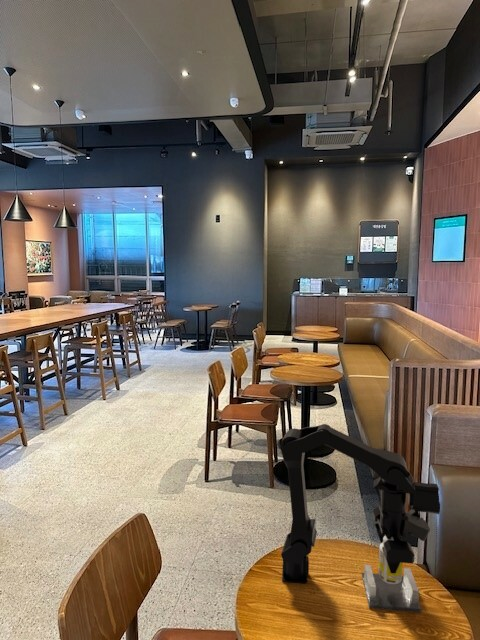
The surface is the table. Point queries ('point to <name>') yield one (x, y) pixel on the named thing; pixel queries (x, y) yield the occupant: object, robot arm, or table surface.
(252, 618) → the table surface
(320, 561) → the table surface
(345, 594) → the table surface
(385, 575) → the supplement bottle
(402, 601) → the grey u-shaped holder
